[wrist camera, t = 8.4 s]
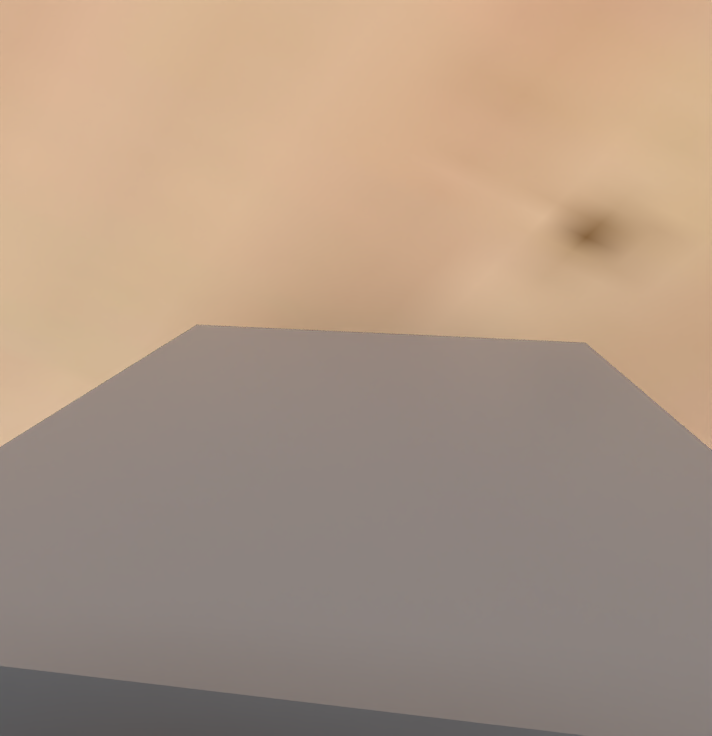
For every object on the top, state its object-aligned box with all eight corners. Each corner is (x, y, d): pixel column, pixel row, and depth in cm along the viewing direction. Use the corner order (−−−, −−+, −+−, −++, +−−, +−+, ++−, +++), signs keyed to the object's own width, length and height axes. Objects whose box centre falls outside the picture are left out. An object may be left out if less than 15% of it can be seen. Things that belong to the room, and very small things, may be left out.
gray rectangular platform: (585, 342, 9) (1120, 799, 2) (527, 640, 12) (692, 1259, 5) (196, 324, 10) (-296, 630, 3) (225, 609, 12) (4, 1112, 6)
